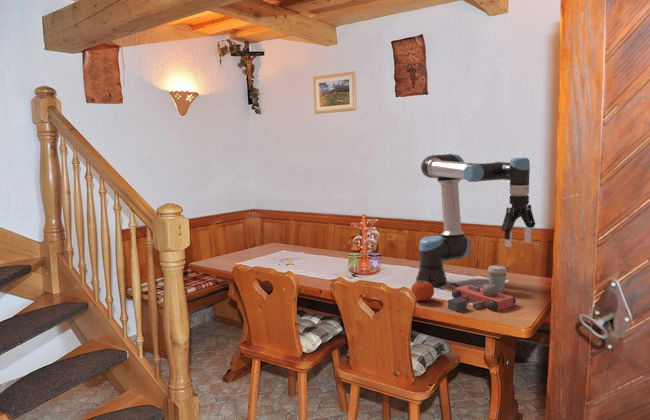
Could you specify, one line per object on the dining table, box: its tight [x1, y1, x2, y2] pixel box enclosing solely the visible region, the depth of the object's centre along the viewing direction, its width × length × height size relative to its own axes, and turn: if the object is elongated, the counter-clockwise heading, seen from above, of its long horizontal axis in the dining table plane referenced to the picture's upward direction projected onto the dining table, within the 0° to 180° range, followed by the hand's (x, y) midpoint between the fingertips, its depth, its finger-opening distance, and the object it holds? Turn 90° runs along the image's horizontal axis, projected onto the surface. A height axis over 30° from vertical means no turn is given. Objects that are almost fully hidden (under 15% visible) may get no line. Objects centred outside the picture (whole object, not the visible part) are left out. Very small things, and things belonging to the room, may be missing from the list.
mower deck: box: [451, 283, 517, 312], centre depth 210 cm, size 24×13×8 cm, turn 32°
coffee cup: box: [487, 264, 508, 294], centre depth 223 cm, size 8×8×12 cm
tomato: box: [410, 279, 435, 302], centre depth 214 cm, size 10×10×10 cm
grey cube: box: [447, 298, 468, 313], centre depth 202 cm, size 5×6×4 cm
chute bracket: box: [458, 295, 484, 310], centre depth 207 cm, size 10×6×2 cm, turn 32°
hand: (518, 244), depth 202 cm, fingers open, 13 cm apart
